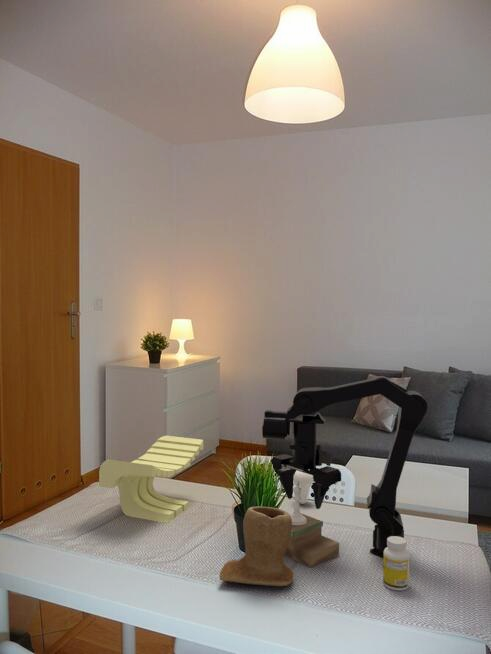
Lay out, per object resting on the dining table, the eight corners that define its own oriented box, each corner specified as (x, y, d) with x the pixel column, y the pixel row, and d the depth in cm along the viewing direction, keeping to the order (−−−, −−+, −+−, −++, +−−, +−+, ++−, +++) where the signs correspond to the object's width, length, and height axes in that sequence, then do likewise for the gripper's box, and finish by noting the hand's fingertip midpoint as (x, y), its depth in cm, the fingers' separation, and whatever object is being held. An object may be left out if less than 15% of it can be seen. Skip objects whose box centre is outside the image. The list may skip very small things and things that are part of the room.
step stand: (338, 555, 135) (339, 528, 135) (309, 567, 128) (309, 539, 128) (298, 537, 145) (299, 512, 144) (269, 548, 138) (269, 522, 138)
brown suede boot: (295, 568, 128) (296, 502, 127) (291, 595, 116) (293, 522, 115) (228, 562, 130) (230, 497, 130) (218, 588, 118) (219, 517, 118)
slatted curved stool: (156, 490, 179) (157, 434, 178) (202, 497, 173) (203, 439, 172) (98, 524, 151) (99, 458, 150) (151, 534, 145) (152, 465, 144)
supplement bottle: (389, 576, 125) (390, 532, 124) (413, 584, 121) (414, 539, 121) (378, 585, 121) (379, 540, 120) (402, 594, 117) (403, 547, 117)
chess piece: (283, 522, 137) (284, 481, 137) (291, 516, 142) (292, 476, 141) (302, 526, 135) (303, 485, 135) (309, 520, 139) (310, 479, 139)
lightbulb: (312, 508, 166) (313, 470, 165) (291, 506, 167) (292, 469, 166) (314, 501, 172) (314, 465, 171) (293, 499, 173) (294, 463, 172)
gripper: (356, 442, 138) (354, 506, 138) (299, 429, 151) (298, 487, 152) (326, 450, 130) (325, 517, 131) (269, 435, 144) (268, 496, 145)
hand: (303, 503), depth 140 cm, fingers open, 9 cm apart
